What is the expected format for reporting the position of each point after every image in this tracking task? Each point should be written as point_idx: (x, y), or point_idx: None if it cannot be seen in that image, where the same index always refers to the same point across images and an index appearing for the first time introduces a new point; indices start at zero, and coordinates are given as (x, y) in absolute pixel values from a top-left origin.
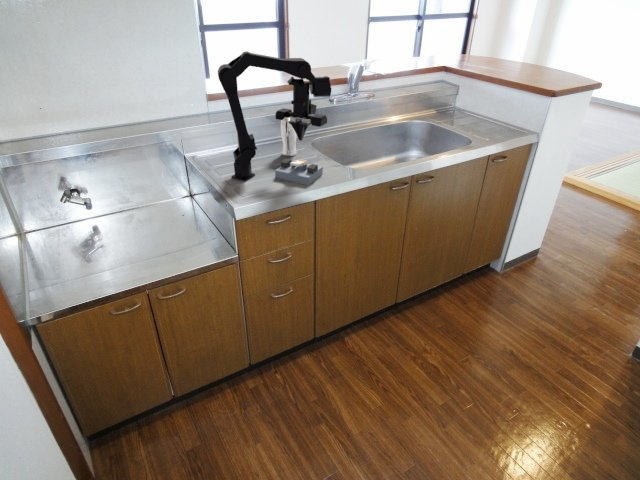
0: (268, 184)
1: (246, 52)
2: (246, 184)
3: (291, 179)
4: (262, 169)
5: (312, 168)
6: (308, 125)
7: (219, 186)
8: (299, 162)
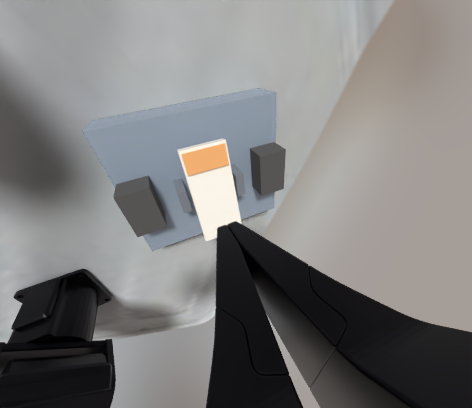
0: (175, 261)
1: None
2: (133, 297)
3: None
4: (31, 228)
5: (281, 188)
6: (436, 325)
7: (99, 337)
8: (222, 202)
